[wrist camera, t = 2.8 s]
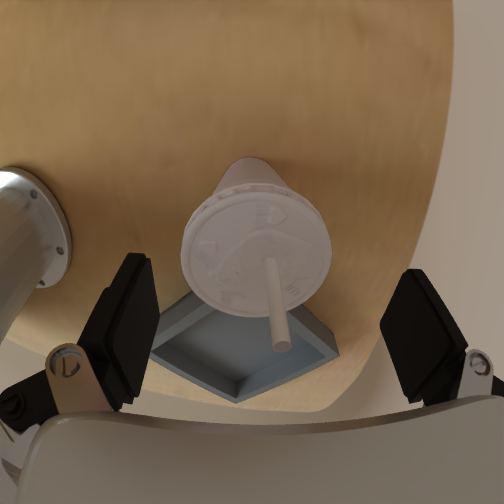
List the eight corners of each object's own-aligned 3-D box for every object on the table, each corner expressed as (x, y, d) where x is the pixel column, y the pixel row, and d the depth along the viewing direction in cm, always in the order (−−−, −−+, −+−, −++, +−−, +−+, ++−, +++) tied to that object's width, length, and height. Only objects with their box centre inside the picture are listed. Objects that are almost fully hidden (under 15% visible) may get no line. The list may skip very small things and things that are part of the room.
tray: (235, 383, 34) (235, 403, 31) (142, 327, 28) (136, 350, 25) (333, 333, 29) (339, 355, 27) (244, 250, 23) (245, 274, 21)
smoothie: (306, 206, 21) (373, 370, 9) (226, 234, 22) (215, 410, 11) (277, 124, 18) (352, 226, 6) (188, 159, 19) (111, 306, 7)
